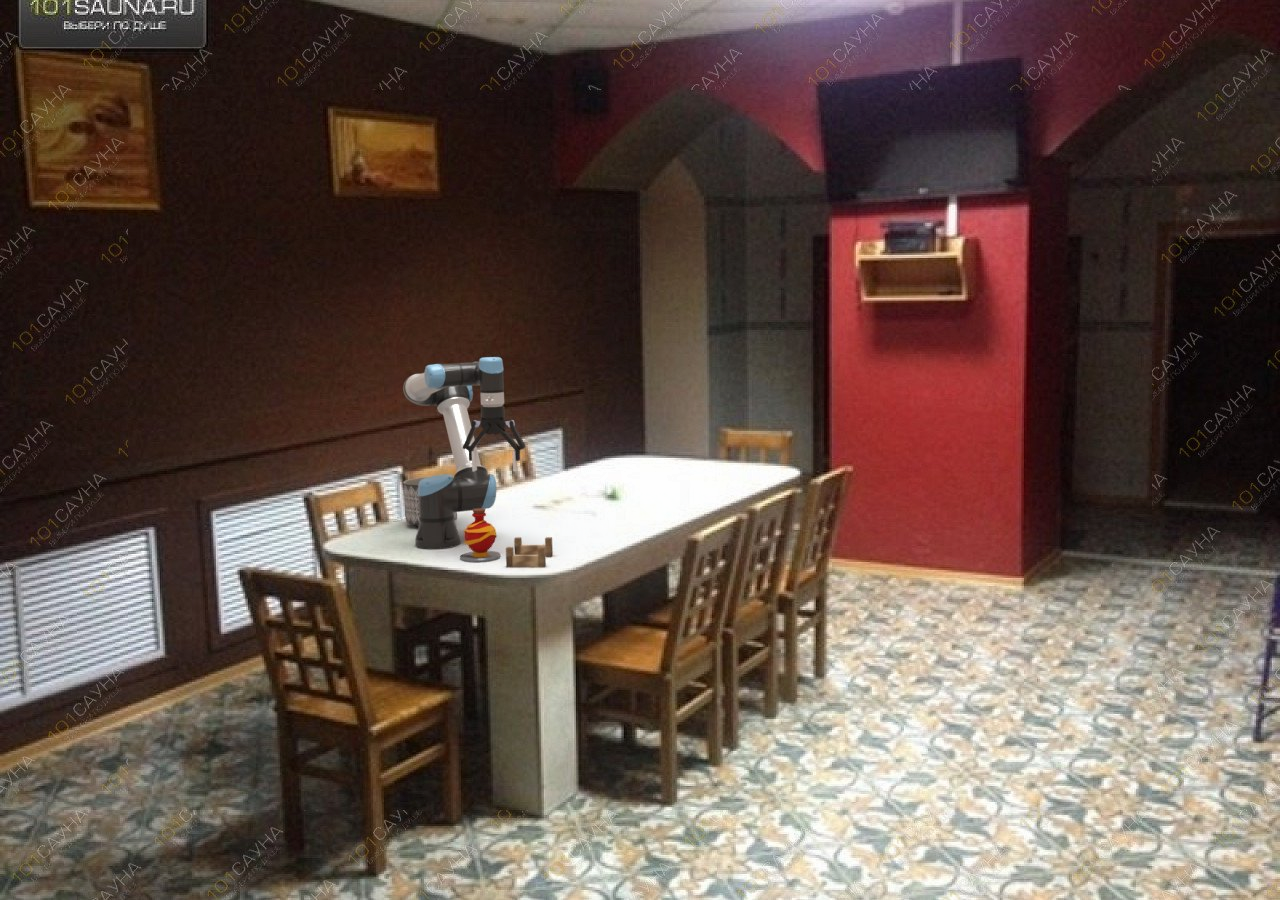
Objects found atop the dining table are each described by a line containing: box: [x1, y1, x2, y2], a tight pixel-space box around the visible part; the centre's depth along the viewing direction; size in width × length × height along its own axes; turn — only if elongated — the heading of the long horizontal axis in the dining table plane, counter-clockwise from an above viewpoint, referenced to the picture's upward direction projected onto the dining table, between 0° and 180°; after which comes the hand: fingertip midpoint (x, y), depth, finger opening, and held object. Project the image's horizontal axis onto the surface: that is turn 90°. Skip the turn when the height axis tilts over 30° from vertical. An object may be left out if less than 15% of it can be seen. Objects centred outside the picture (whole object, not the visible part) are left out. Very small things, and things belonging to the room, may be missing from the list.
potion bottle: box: [463, 508, 498, 557], centre depth 374 cm, size 10×10×15 cm
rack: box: [505, 536, 554, 568], centre depth 369 cm, size 12×16×6 cm
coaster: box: [459, 550, 502, 563], centre depth 375 cm, size 13×13×1 cm
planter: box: [402, 476, 458, 527], centre depth 430 cm, size 19×19×16 cm
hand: (495, 470), depth 378 cm, fingers open, 13 cm apart
